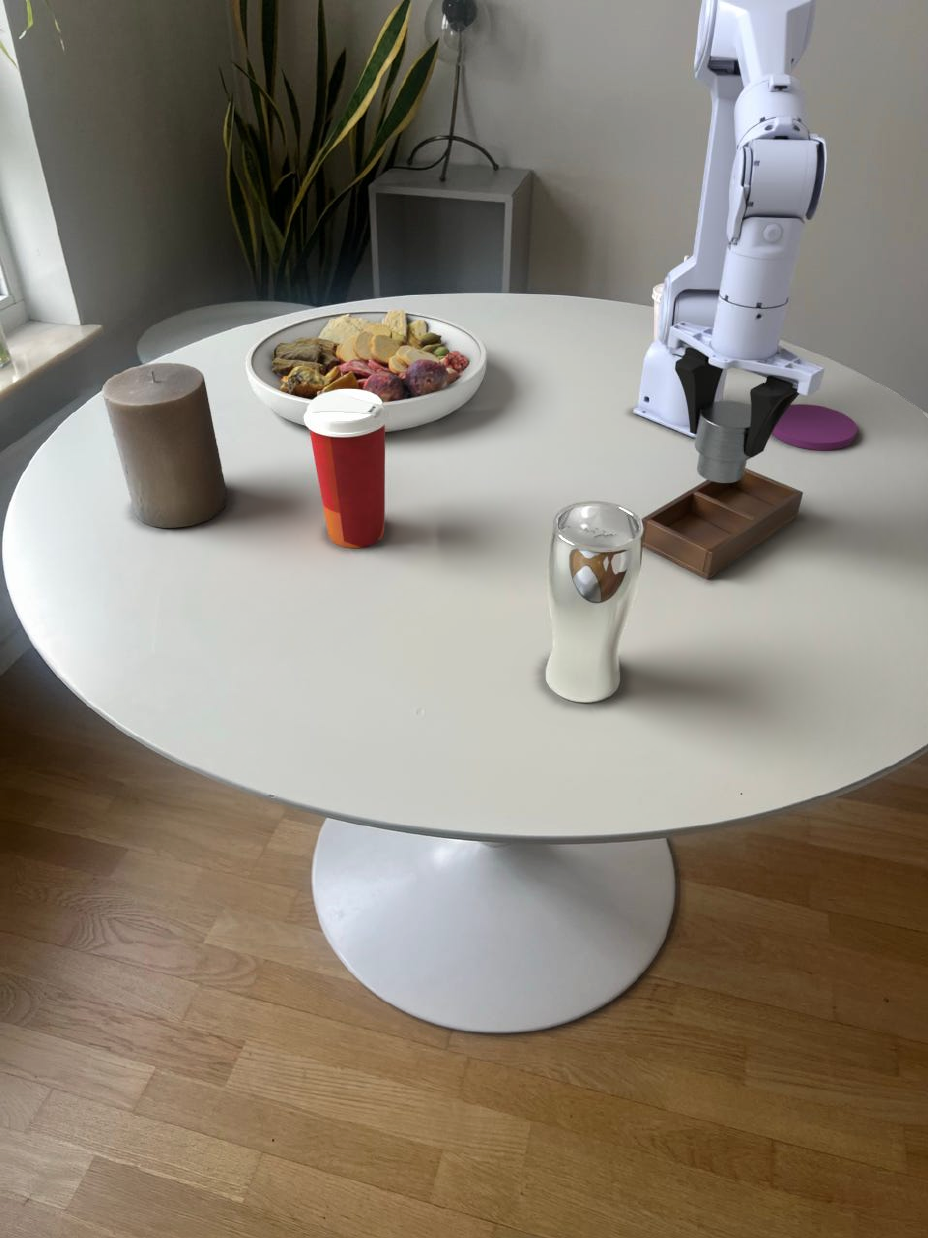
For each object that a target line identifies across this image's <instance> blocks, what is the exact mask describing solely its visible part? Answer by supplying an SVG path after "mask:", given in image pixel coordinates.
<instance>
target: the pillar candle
mask: <svg viewBox="0 0 928 1238" xmlns="http://www.w3.org/2000/svg"><path fill="white" fill-rule="evenodd" d="M101 393H102V395H101V396H102V397H103V400H104V404H105V407H106V408H105V409H106V411H107V415H108V417H109V423H110V425H111V428H112V435H113V438H114V441H115V445H116V449H117V453H118V457H119V460H120V464H121V468H122V471H123V476H124V479H125V483H126V486H127V490H128V495H129V497H130V501H131V506H132V509H133V511H134V514H135V516H136V518H137V519H138V520H139V521H140V522H141V523H143V524H145V525H148V526H151V527H156V528H162V529H167V528H168V529H174V528H182V527H192V526H197V525H199V524H203V523H205V522H207V521H210V520H212V519H213V518H214V517H216V516H217V515H218V514H220V513H221V512H222V511H223V510H224V508H225V507H226V506H227V504H228V500H227V499H228V498H227V496H228V493H227V492H228V491H227V486H226V482H225V476H224V472H223V466H222V461H221V457H220V452H219V451H220V450H219V447H218V443H217V438H216V437H217V436H216V432H215V427H214V423H213V418H212V417H213V416H212V412H211V406H210V401H209V395H208V391H207V385H206V381H205V377H204V374H203V373H202V371H201V370H199V369H198V368H197V367H194V366H192V365H187V364H184V363H178V362H177V363H176V362H156V363H149V364H141V365H138V366H133V367H130V368H128V369H125V370H123V371H121V372H120V373H117V374H114V375H113V376H112V377H110V378H109V379H107V381H106V382H105V383H104V384H103V385H102V389H101Z"/></svg>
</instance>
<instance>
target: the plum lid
mask: <svg viewBox="0 0 928 1238" xmlns="http://www.w3.org/2000/svg"><path fill="white" fill-rule="evenodd" d="M857 433H858V426H857V424H856V422H855V421H854V420H853V419H852V418H851V417H850V416H848V415H846V414H845V413H842V412H840V411H837V410H836V409H833V408H830V407H826V406H822V405H816V404H805V403H803V404H802V403H799V404H796V403H795V404H791V405H790V406H789V407H788V408H787V410H786V411H785V412H784V414H783V415H782V417H781V418H780V420H779V421H778V423H777V425H776V426H775V428H774V430H773V432H772V433H771V435H772V436H774V437H775V438H776V439H778V440H780V441H781V442H783V443H785V444H788V445H791V446H792V447H793V446H794V447H796V448H801V449H806V450H813V451H832V450H833V451H834V450H839V449H843V448H846V447H848V446H849V445H851V444H852V443H853V442H854V441H855V439H856V436H857Z"/></svg>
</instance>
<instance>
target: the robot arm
mask: <svg viewBox="0 0 928 1238" xmlns="http://www.w3.org/2000/svg"><path fill="white" fill-rule="evenodd" d="M816 10H817V0H701V4H700V10H699V17H698V25H697V36H696V45H695V55H694V64H693V70H694V71H695V74H694V79H695V81H697V82H700V83H701V84H703V85H705V86H707V87H709V89H710V90H709V91H710V98H711V117H710V123H709V132H708V138H707V139H708V140H707V147H706V155H705V161H704V162H705V163H704V169H703V178H702V185H701V193H700V201H699V207H698V208H699V209H698V215H697V224H696V231H695V236H694V237H695V238H694V244H693V254H692V255H691V256H689V259H688V260H686V261H685V262H684V261H683V262H681V263H680V264H678V265H676V267H674V268H672V269H671V270H670V271H669V272H668V273H667V275H666V277H665V278H664V282H663V283H664V290H663V293H662V297H661V302H660V309H659V318H658V338H657V339H656V340H655V341H654V340H653V342H651V344H650V345H649V347H648V349H647V351H646V353H645V356H644V358H643V362H642V368H641V369H642V370H641V375H640V376H641V378H640V384H639V394H638V401H637V406H635V407H634V408H633V414H635V415H637V416H640V417H641V418H642V417H643V418H645V419H647V420H650V421H652V422H654V423H657V424H660V425H662V426H664V427H667V428H670V429H672V430H674V431H676V432H679V433H681V434H684V435H686V436H689V437H691V438H694V439H696V433H697V427H698V421H699V415H700V410H701V408H702V407H703V406H705V405H706V404H708V403H711V402H716V401H723V396H724V391H725V386H726V379H727V376H728V375H727V374H728V370H729V369H733V368H734V369H739V370H742V371H745V372H748V373H751V374H753V375H756V376H760V377H762V378H765V379H766V380H765V382H761V383H759V384H757V385H756V386H754V387H752V388H751V389H750V391H749V395H750V406H751V423H750V429H749V433H748V438H747V442H746V449H745V455H746V456H749V457H752V458H754V457H756V456H758V455H759V454H761V453H763V452H764V451H765V448H766V446H767V444H768V442H769V440H770V437H771V436H772V432H773V430H774V428H775V426H776V425H777V423H778V421H779V420H780V418H781V417H782V415H783V414H784V412H785V411H786V410H787V408H788V407H789V406H790V405H792V404H793V402H794V401H795V400H796V398H798V396H800V395H802V396H805V397H809V396H810V395H812V394H814V393H816V392H818V391H819V390H820V389H821V385H822V382H823V377H824V372H825V367H822V366H819V365H817V364H814V363H812V362H810V361H808V360H806V359H804V358H802V357H801V356H799V355H798V354H796V353H794V352H792V351H790V350H789V349H787V348H786V347H783V346H782V345H780V342H781V337H782V333H783V329H784V324H785V319H786V314H787V310H788V305H789V300H790V296H791V291H792V287H793V283H794V278H795V273H796V268H797V264H798V260H799V255H800V249H801V245H802V241H803V236H804V233H805V232H804V231H805V229H806V228H805V227H806V222H805V221H804V218H805V219H806V220H808V221H811V220H812V219H813V218H815V215H816V213H817V211H818V209H819V206H820V202H821V200H822V195H823V192H824V187H825V182H826V174H827V167H828V165H827V164H828V151H827V142H826V139H825V138H824V137H820V136H819V134H818V133H811V125H810V118H809V110H808V101H807V100H808V99H807V94H806V90H805V88H804V86H803V84H802V83H801V82H800V80H798V79H797V78H796V77H794V76H792V73H793V72H794V70H796V67H797V66H798V64H799V63H800V61H801V60H802V58H803V57H804V56H805V54H806V53H807V50H808V48H809V45H810V42H811V39H812V34H813V29H814V25H815V18H816ZM691 288H692V289H691Z"/></svg>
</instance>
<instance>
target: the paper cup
mask: <svg viewBox="0 0 928 1238" xmlns="http://www.w3.org/2000/svg"><path fill="white" fill-rule="evenodd" d="M304 420H305V424H306V426H305V427H307V428H308V430H309V435H310V441H311V446H312V452H313V456H314V458H313V459H314V463H315V468H316V469H315V470H316V474H317V480H318V481H317V482H318V487H319V491H320V497H321V503H322V508H323V513H324V519H325V523H326V530H327V533H328V537H329V539H330V541H331V542H332V543H334V544H335V545H337V546H339V547H343V548H347V549H361V548H367V547H370V546H373V545H374V544H377V543H378V542H379V541H380V540H382V538H383V536H384V534H385V516H386V515H385V513H386V512H385V511H386V509H385V507H386V506H385V505H386V497H385V496H386V432H385V423H386V422H387V420H388V413H387V411H386V409H385V408H384V406H383V403H382V401H381V399H380V398H379V397H378V396H377V395H375V394H373V393H371V392H368V391H364V390H359V389H339V390H334V391H330V392H326V393H323V394H321V395H319V396H317V397H316V398H314V399H313V400H312V401H311V403H310V404H309V406H308V407H307V412H306V413H305V415H304Z"/></svg>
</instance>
